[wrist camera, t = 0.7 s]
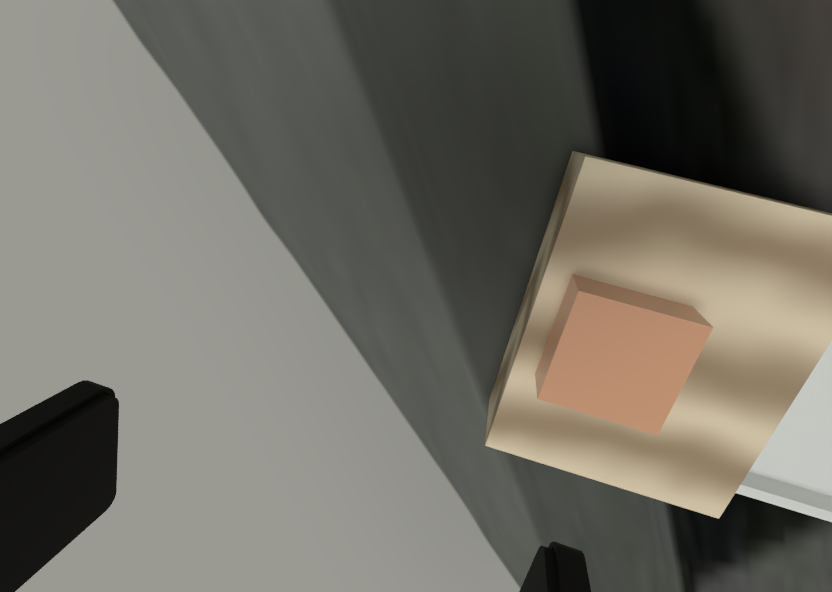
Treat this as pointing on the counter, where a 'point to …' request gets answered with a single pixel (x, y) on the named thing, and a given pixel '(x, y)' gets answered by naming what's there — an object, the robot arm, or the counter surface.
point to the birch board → (687, 284)
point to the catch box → (799, 451)
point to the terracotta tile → (619, 353)
